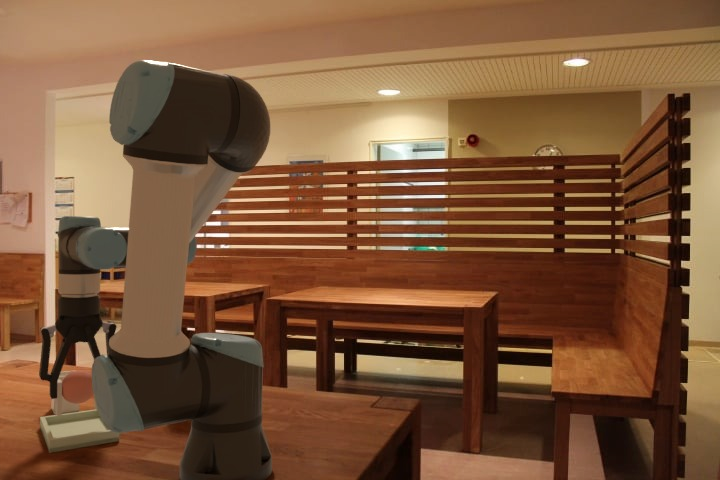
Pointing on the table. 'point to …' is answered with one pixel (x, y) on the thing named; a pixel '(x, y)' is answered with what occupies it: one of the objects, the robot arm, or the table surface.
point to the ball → (77, 387)
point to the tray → (75, 430)
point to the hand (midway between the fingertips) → (78, 411)
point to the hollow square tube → (65, 404)
